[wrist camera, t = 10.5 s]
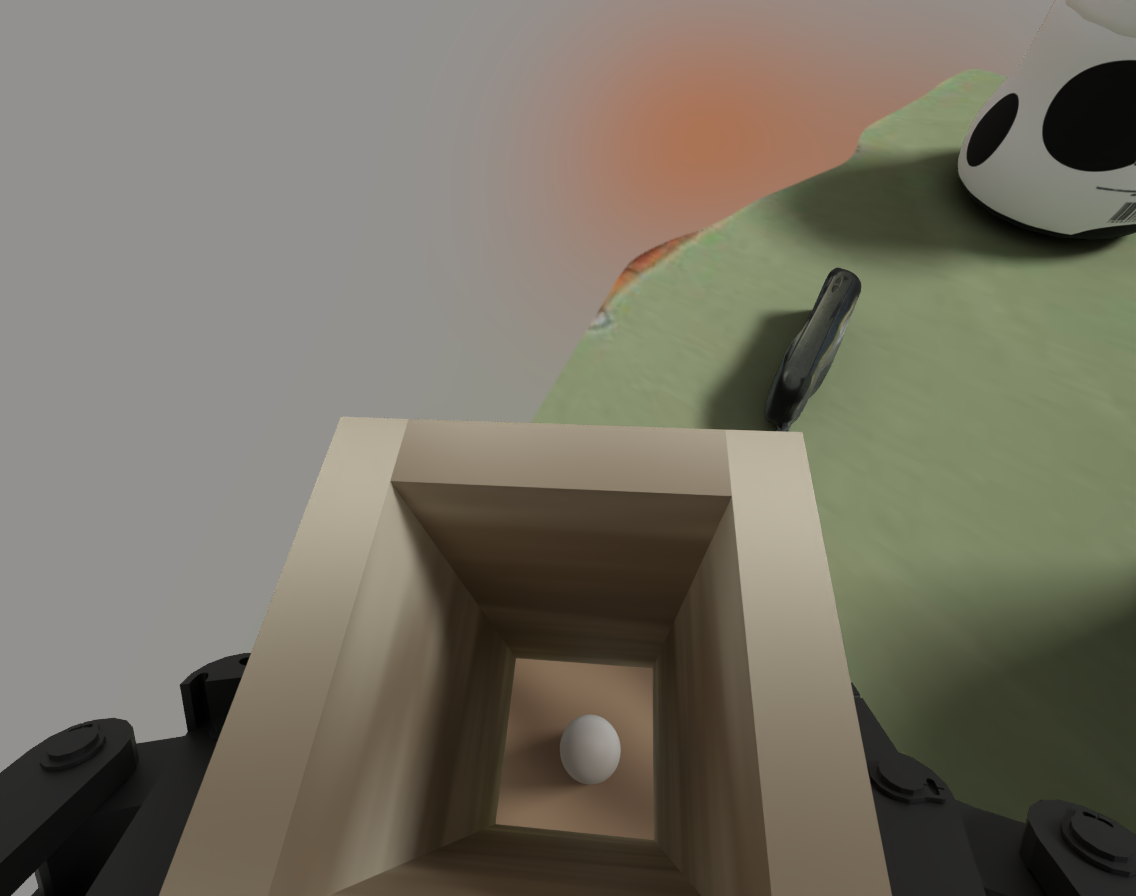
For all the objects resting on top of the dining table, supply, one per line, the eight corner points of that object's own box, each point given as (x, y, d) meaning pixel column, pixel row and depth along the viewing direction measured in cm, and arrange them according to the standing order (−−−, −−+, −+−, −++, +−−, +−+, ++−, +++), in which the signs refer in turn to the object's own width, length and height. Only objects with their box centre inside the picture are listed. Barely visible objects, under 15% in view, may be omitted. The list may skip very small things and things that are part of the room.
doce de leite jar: (993, 130, 55) (1141, -116, 40) (1185, 195, 48) (1456, -75, 33) (905, 201, 50) (1038, -52, 35) (1107, 287, 42) (1389, 13, 27)
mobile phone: (830, 258, 39) (764, 395, 32) (871, 269, 38) (813, 413, 31) (808, 309, 43) (745, 440, 37) (845, 321, 42) (788, 457, 36)
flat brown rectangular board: (561, 558, 33) (549, 494, 25) (753, 638, 30) (802, 591, 22) (399, 897, 24) (311, 949, 17) (642, 1060, 21) (663, 1211, 14)
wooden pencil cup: (490, 624, 18) (340, 416, 7) (683, 637, 17) (802, 432, 7) (453, 865, 14) (88, 1080, 4) (692, 891, 14) (953, 1216, 4)
